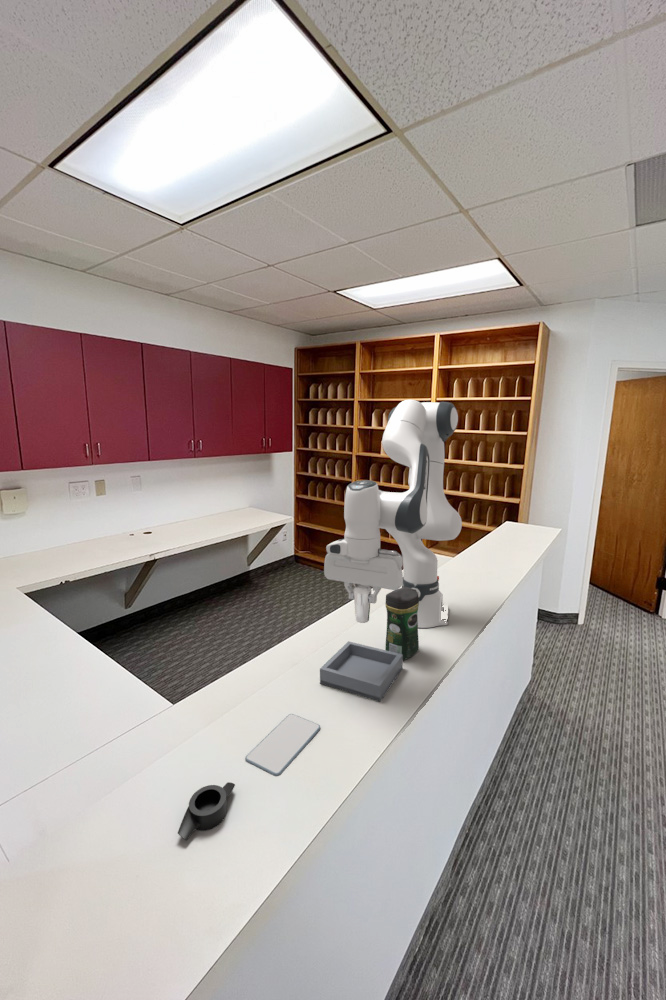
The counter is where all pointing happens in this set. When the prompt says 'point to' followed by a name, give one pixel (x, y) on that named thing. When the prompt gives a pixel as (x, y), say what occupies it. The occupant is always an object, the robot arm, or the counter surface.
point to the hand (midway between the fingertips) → (362, 600)
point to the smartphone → (283, 744)
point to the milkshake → (362, 602)
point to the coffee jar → (402, 622)
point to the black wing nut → (205, 809)
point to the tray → (362, 670)
